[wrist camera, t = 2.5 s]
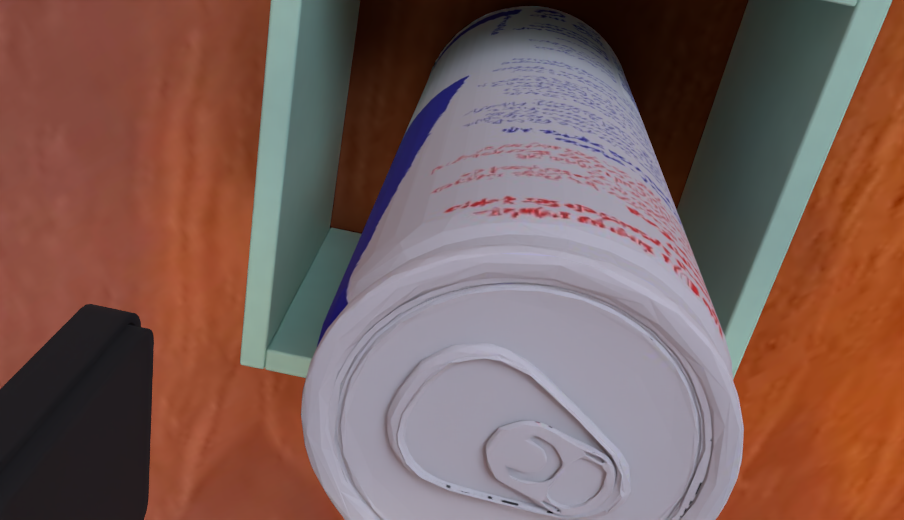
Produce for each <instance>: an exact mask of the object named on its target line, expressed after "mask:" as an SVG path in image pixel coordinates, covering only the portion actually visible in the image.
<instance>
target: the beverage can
mask: <svg viewBox="0 0 904 520" xmlns="http://www.w3.org/2000/svg"><path fill="white" fill-rule="evenodd" d="M301 418H302V426H303V434H304V442H305V447H306V450H307V453H308V457H309V460H310V463H311V466H312V468H313V470H314V472H315V474H316V476H317V478H318V479H319V481H320V483H321V485H322V487H323V488H324V490H325V492H326V493H327V495H328V497H329V498H330V500H331V502H332V503H333V504H334V506H335V507H336V508H337V510H338V511H339V512H340V514H341V515H342V516H343V517H344V519H345V520H715V519H716V518H717V517H718V515H719V514H720V512H721V511H722V509H723V507H724V506H725V504H726V502H727V500H728V498H729V496H730V494H731V491H732V489H733V487H734V485H735V483H736V481H737V477H738V473H739V469H740V465H741V461H742V450H743V431H744V426H743V420H742V414H741V409H740V403H739V398H738V394H737V391H736V388H735V385H734V383H733V373H732V361H731V357H730V353H729V350H728V346H727V342H726V339H725V335H724V333H723V330H722V328H721V325H720V322H719V320H718V317H717V315H716V312H715V309H714V307H713V304H712V301H711V299H710V296H709V294H708V291H707V288H706V286H705V283H704V281H703V278H702V275H701V273H700V270H699V268H698V265H697V262H696V260H695V257H694V254H693V252H692V249H691V247H690V244H689V241H688V239H687V236H686V234H685V231H684V228H683V226H682V223H681V221H680V218H679V215H678V213H677V210H676V207H675V205H674V202H673V200H672V197H671V194H670V192H669V189H668V187H667V184H666V181H665V179H664V176H663V174H662V171H661V168H660V166H659V163H658V160H657V158H656V155H655V153H654V150H653V147H652V145H651V142H650V140H649V137H648V134H647V132H646V129H645V127H644V124H643V121H642V119H641V116H640V113H639V111H638V108H637V106H636V103H635V100H634V98H633V95H632V93H631V90H630V87H629V85H628V82H627V79H626V77H625V74H624V72H623V69H622V66H621V64H620V62H619V60H618V58H617V56H616V55H615V53H614V51H613V50H612V48H611V47H610V46H609V45H608V43H607V42H606V41H605V40H604V39H603V38H602V37H601V35H600V34H599V33H597V32H596V31H595V30H594V29H593V28H592V27H590V26H589V25H587V24H586V23H584V22H583V21H581V20H579V19H577V18H575V17H573V16H572V15H570V14H567V13H564V12H561V11H559V10H555V9H551V8H546V7H538V6H516V7H510V8H506V9H502V10H497V11H494V12H492V13H489V14H486V15H484V16H482V17H480V18H478V19H476V20H475V21H473V22H471V23H470V24H468V25H467V26H465V27H464V28H463V29H462V30H461V31H459V32H458V33H457V34H456V35H455V36H454V37H453V38H452V39H451V40H450V41H449V43H448V44H447V45H446V46H445V47H444V48H443V50H442V51H441V53H440V55H439V57H438V58H437V60H436V62H435V63H434V66H433V68H432V70H431V73H430V76H429V79H428V81H427V83H426V86H425V88H424V90H423V93H422V95H421V97H420V100H419V102H418V104H417V107H416V109H415V111H414V114H413V116H412V118H411V121H410V123H409V125H408V128H407V130H406V132H405V135H404V137H403V139H402V142H401V144H400V146H399V148H398V151H397V153H396V155H395V158H394V160H393V162H392V165H391V167H390V169H389V172H388V174H387V176H386V179H385V181H384V183H383V186H382V188H381V190H380V193H379V195H378V197H377V200H376V202H375V204H374V207H373V209H372V211H371V213H370V216H369V218H368V220H367V223H366V225H365V227H364V230H363V232H362V234H361V237H360V239H359V241H358V244H357V246H356V248H355V251H354V253H353V255H352V258H351V260H350V262H349V265H348V267H347V269H346V272H345V274H344V276H343V278H342V281H341V283H340V285H339V288H338V290H337V292H336V295H335V297H334V299H333V302H332V304H331V306H330V309H329V311H328V313H327V316H326V318H325V320H324V323H323V326H322V329H321V333H320V337H319V340H318V344H317V348H316V351H315V353H314V355H313V358H312V360H311V362H310V365H309V369H308V373H307V377H306V381H305V385H304V388H303V394H302V408H301Z"/></svg>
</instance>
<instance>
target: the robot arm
mask: <svg viewBox="0 0 904 520" xmlns="http://www.w3.org/2000/svg"><path fill="white" fill-rule="evenodd" d="M153 347H154V338H153V333H152V331H151V330H150V329H147V328H142V327H141V322H140V319H139V316H138V315H137V314H135V313H131V312H126V311H121V310H116V309H112V308H107V307H102V306H97V305H93V304H87V305H85V306H84V307H82V308H81V309H80V310H79V311H78V312H77V313H76V314H75V315H74V316H73V317H72V318H71V319H70V320H69V321H68V322H67V323H66V324H65V325H64V326H63V327H62V328H61V329H60V330H59V331H58V332H57V333H56V334H55V335H54V336H53V337H52V338H51V339H50V340H49V341H48V342H47V343H46V344H45V345H44V346H43V347H42V348H41V349H40V350H39V351H38V352H37V353H36V354H35V355H34V356H33V357H32V358H31V359H30V360H29V361H28V362H27V363H26V364H25V365H24V366H23V367H22V368H21V369H20V370H19V371H18V372H17V373H16V374H15V375H14V376H13V377H12V378H11V379H10V380H9V381H8V382H7V383H6V384H5V385H4V386H3V387H2V388H1V389H0V520H144V517H145V514H146V510H147V505H148V494H149V465H150V435H151V406H152V377H153Z"/></svg>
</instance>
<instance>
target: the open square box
mask: <svg viewBox="0 0 904 520" xmlns="http://www.w3.org/2000/svg"><path fill="white" fill-rule="evenodd" d="M891 3H892V0H748V3H747V6H746V9H745V12H744V15H743V18H742V21H741V24H740V27H739V30H738V32H737V35H736V38H735V41H734V44H733V47H732V50H731V53H730V56H729V59H728V62H727V65H726V68H725V70H724V73H723V76H722V79H721V82H720V85H719V88H718V91H717V94H716V97H715V100H714V103H713V105H712V108H711V111H710V114H709V117H708V120H707V123H706V126H705V129H704V132H703V135H702V138H701V140H700V143H699V146H698V149H697V152H696V155H695V158H694V161H693V164H692V167H691V170H690V173H689V175H688V178H687V181H686V184H685V187H684V190H683V193H682V196H681V199H680V202H679V205H678V208H677V213H678V215H679V218H680V221H681V223H682V226H683V228H684V231H685V234H686V236H687V239H688V241H689V244H690V247H691V249H692V252H693V254H694V257H695V260H696V262H697V265H698V268H699V270H700V273H701V275H702V278H703V281H704V283H705V286H706V288H707V291H708V294H709V296H710V299H711V301H712V304H713V307H714V309H715V312H716V315H717V317H718V320H719V322H720V325H721V328H722V330H723V333H724V335H725V339H726V342H727V346H728V350H729V353H730V357H731V361H732V373H733V379H734V376H735V374H736V371H737V369H738V367H739V364H740V362H741V359H742V357H743V355H744V352H745V350H746V348H747V345H748V343H749V340H750V338H751V336H752V333H753V331H754V329H755V326H756V324H757V321H758V319H759V317H760V314H761V312H762V310H763V307H764V305H765V302H766V300H767V298H768V295H769V293H770V290H771V288H772V286H773V283H774V281H775V279H776V276H777V274H778V271H779V269H780V267H781V264H782V262H783V260H784V257H785V255H786V252H787V250H788V248H789V245H790V243H791V241H792V238H793V236H794V233H795V231H796V229H797V226H798V224H799V221H800V219H801V217H802V214H803V212H804V210H805V207H806V205H807V202H808V200H809V198H810V195H811V193H812V191H813V188H814V186H815V183H816V181H817V179H818V176H819V174H820V171H821V169H822V167H823V164H824V162H825V160H826V157H827V155H828V152H829V150H830V148H831V145H832V143H833V141H834V138H835V136H836V133H837V131H838V129H839V126H840V124H841V122H842V119H843V117H844V114H845V112H846V110H847V107H848V105H849V102H850V100H851V98H852V95H853V93H854V91H855V88H856V86H857V83H858V81H859V79H860V76H861V74H862V72H863V69H864V67H865V64H866V62H867V60H868V57H869V55H870V53H871V50H872V48H873V45H874V43H875V41H876V38H877V36H878V33H879V31H880V29H881V26H882V24H883V22H884V19H885V17H886V14H887V12H888V10H889V7H890V5H891ZM359 8H360V0H271V7H270V19H269V30H268V42H267V54H266V65H265V77H264V89H263V100H262V112H261V124H260V135H259V147H258V158H257V170H256V182H255V193H254V205H253V217H252V228H251V240H250V252H249V263H248V275H247V287H246V298H245V310H244V321H243V333H242V345H241V356H240V364H241V365H245V366H250V367H254V368H259V369H264V367H265V369H266V370H270V371H274V372H279V373H284V374H289V375H294V376H299V377H303V378H306V377H307V373H308V369H309V365H310V362H311V360H312V358H313V355H314V353H315V351H316V348H317V344H318V340H319V337H320V333H321V329H322V326H323V323H324V320H325V318H326V316H327V313H328V311H329V309H330V306H331V304H332V302H333V299H334V297H335V295H336V292H337V290H338V288H339V285H340V283H341V281H342V278H343V276H344V274H345V272H346V269H347V267H348V265H349V262H350V260H351V258H352V255H353V253H354V251H355V248H356V246H357V244H358V241H359V239H360V237H361V234H360V233H356V232H351V231H346V230H341V229H337V228H330V224H331V216H332V209H333V202H334V194H335V187H336V179H337V172H338V164H339V157H340V149H341V142H342V134H343V127H344V119H345V112H346V105H347V97H348V90H349V82H350V75H351V67H352V60H353V52H354V45H355V37H356V30H357V22H358V15H359Z"/></svg>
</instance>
